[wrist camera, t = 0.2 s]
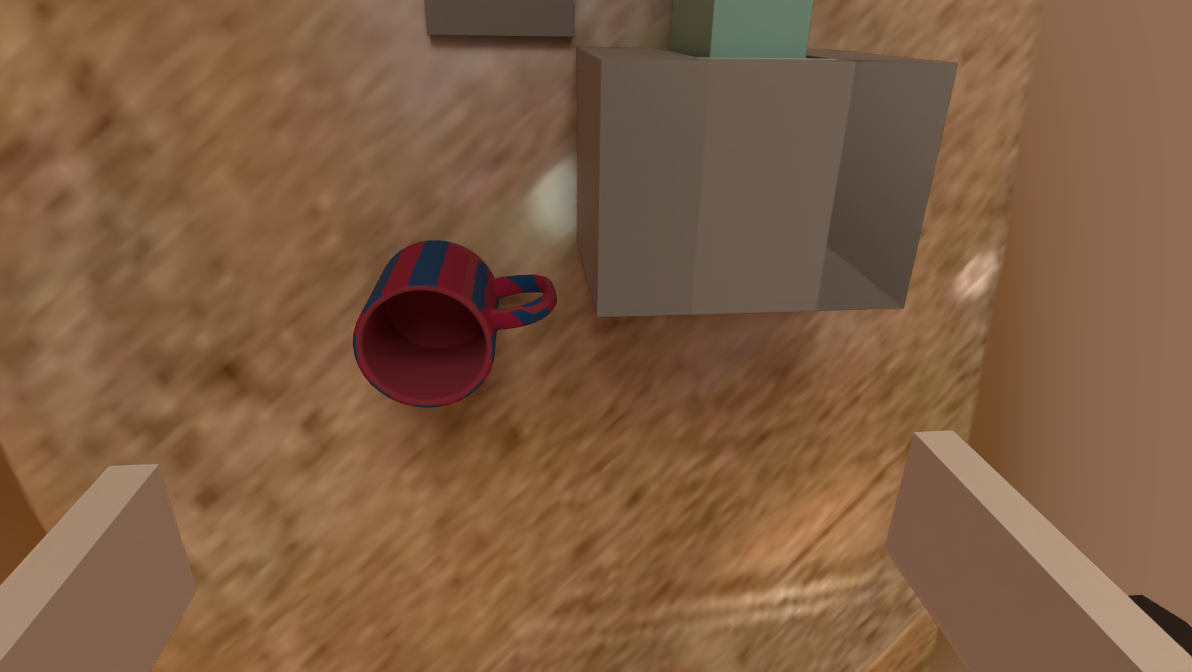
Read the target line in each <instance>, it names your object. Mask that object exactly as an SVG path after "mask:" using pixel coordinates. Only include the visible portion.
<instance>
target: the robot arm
mask: <svg viewBox="0 0 1192 672" xmlns="http://www.w3.org/2000/svg"><path fill="white" fill-rule="evenodd" d="M884 549H885V550H886V552H887V553H888V554H889V556H890V557H891V559H892V560H893V562H894V563H895V565H896V566H897V567H898V569H899V570H900V572H901V573H902V575H903V576H904V578H905V579H906V580H907V582H908V583H909V585H910V586H911V588H912V589H913V591H914V592H915V593H916V595H917V596H918V598H919V599H920V601H921V602H922V604H923V605H924V607H925V608H926V609H927V611H928V612H929V614H930V615H931V617H932V618H933V620H934V621H935V622H936V624H937V625H938V627H939V628H940V630H941V631H942V632H943V634H944V635H945V637H946V638H947V640H948V641H949V643H950V644H951V645H952V647H953V648H954V650H955V651H956V653H957V654H958V656H959V657H960V659H961V660H962V661H963V663H964V664H965V666H966V667H967V669H968V670H969V672H1192V627H1191V626H1190V625H1189V624H1188V623H1186V622H1185V621H1183V620H1182V619H1180V618H1179V617H1177V616H1175V615H1174V614H1172V613H1170V612H1169V611H1167V610H1166V609H1164V608H1163V607H1161V606H1159V605H1158V604H1156V603H1154V602H1153V601H1151V600H1150V599H1148V598H1146V597H1145V596H1143V595H1132V596H1127V595H1126V594H1125V593H1124V592H1123V591H1122V590H1120V588H1118V587H1117V586H1116V585H1115V584H1114V583H1113V582H1112V581H1111V580H1110V579H1109V578H1108V577H1107V576H1106V575H1105V574H1104V573H1102V571H1101V570H1099V569H1098V568H1097V567H1096V566H1095V565H1094V564H1093V563H1092V562H1091V561H1090V560H1089V559H1088V558H1087V557H1086V556H1084V554H1083V553H1082V552H1081V551H1079V550H1078V549H1077V548H1076V547H1075V546H1074V545H1073V544H1072V543H1071V542H1070V541H1069V540H1068V539H1067V538H1065V536H1064V535H1063V534H1061V533H1060V532H1059V531H1058V530H1057V529H1056V528H1055V527H1054V526H1053V525H1052V524H1051V523H1050V522H1049V521H1048V520H1047V519H1046V518H1045V517H1044V516H1043V515H1042V514H1040V513H1039V512H1038V511H1037V510H1036V509H1035V508H1034V507H1033V506H1032V505H1031V504H1030V503H1029V502H1028V501H1027V500H1026V499H1025V498H1024V497H1023V496H1021V495H1020V494H1019V493H1018V492H1017V491H1016V490H1015V489H1014V488H1013V487H1012V486H1011V485H1010V484H1009V483H1008V482H1007V481H1006V480H1005V479H1004V478H1003V477H1001V476H1000V475H999V474H998V473H997V472H996V471H995V470H994V469H993V468H992V467H991V466H990V465H989V464H988V463H987V462H985V460H983V459H982V458H981V457H980V456H979V455H978V454H977V453H976V452H975V451H974V450H973V449H972V448H971V447H970V446H969V445H968V444H967V443H966V442H965V441H963V440H962V439H961V438H960V437H959V436H958V435H957V434H956V433H955V432H954V431H931V432H914V434H913V438H912V442H911V446H910V450H909V453H908V457H907V461H906V465H905V469H904V473H903V477H902V481H901V485H900V489H899V493H898V497H897V501H896V505H895V508H894V512H893V516H892V520H891V524H890V528H889V532H888V536H887V540H886V544H885V548H884ZM196 590H197V589H196V586H195V583H194V579H193V576H192V573H191V569H190V566H189V563H188V559H187V556H186V553H185V549H184V546H183V543H182V540H181V536H180V533H179V530H178V526H177V523H176V520H175V516H174V513H173V510H172V506H171V503H170V500H169V496H168V493H167V490H166V486H165V483H164V480H163V476H162V473H161V470H160V467H159V464H148V465H125V466H109V467H108V468H107V469H106V470H105V471H104V472H103V473H102V474H101V476H100V477H99V478H98V479H97V480H96V481H95V482H94V483H93V484H92V485H91V487H90V488H89V489H88V490H87V491H86V492H85V493H84V494H83V495H82V496H81V498H80V499H79V500H78V501H77V502H76V503H75V504H74V505H73V506H72V507H71V508H70V510H69V511H68V512H67V513H66V514H65V515H64V516H63V517H62V518H61V519H60V521H59V522H58V523H57V524H56V525H55V526H54V527H53V528H52V529H51V530H50V532H49V533H48V534H47V535H46V536H45V537H44V538H43V539H42V541H40V543H39V544H38V545H37V546H36V547H35V548H34V549H33V550H32V551H31V553H30V554H29V555H28V556H27V557H26V558H25V559H24V560H23V561H22V562H21V563H20V565H19V566H18V567H17V568H16V569H15V570H14V571H13V572H12V573H11V574H10V575H9V577H8V578H7V579H6V580H5V581H4V582H3V583H2V584H1V585H0V672H151V670H152V668H153V667H154V665H155V663H156V661H157V660H158V658H159V656H160V654H161V652H162V651H163V649H164V647H165V645H166V644H167V642H168V640H169V638H170V636H171V635H172V633H173V631H174V629H175V627H176V626H177V624H178V622H179V620H180V619H181V617H182V615H183V613H184V611H185V610H186V608H187V606H188V604H189V603H190V601H191V599H192V597H193V595H194V594H195V592H196Z"/></svg>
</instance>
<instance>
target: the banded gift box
mask: <svg viewBox="0 0 1192 672" xmlns="http://www.w3.org/2000/svg"><path fill="white" fill-rule="evenodd" d="M812 7H813V0H673V7H672V25H671V43H670V51H671V52H675V53H680V54H684V55H689V56H693V57H707V58H806V52H807V45H808V37H809V30H810V22H811V15H812Z"/></svg>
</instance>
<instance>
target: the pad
mask: <svg viewBox="0 0 1192 672" xmlns="http://www.w3.org/2000/svg"><path fill="white" fill-rule="evenodd" d="M425 10H426V22H427V34H428V35H494V36H573V0H425Z"/></svg>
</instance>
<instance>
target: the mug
mask: <svg viewBox="0 0 1192 672" xmlns="http://www.w3.org/2000/svg"><path fill="white" fill-rule="evenodd" d="M527 292H541V293H544V294H543V295H542V296H541V297H540V298H538V299H537V300H535V301H533V302H531V303H529V304H525V305H522V306H519V307H514V308H509V309H498V301H499V298H502V297H505V296H509V295H513V294H518V293H527ZM556 302H557V298H556V291H555V288H554V286H553V284H552V282H551V281H550V279H548V278H546V277H544V276H539V275H517V276H508V277H500V278H496V279H494V277H493V275H492V272H491V271H490V269H489V268H488V266H487V265H486V264H485V263H484V262H483V261H482V260H481V259H480V257H478V256H477V255H476V254H474V253H473V252H472V251H470V250H468V249H466V248H465V247H463V246H461V245H457V244H454V243H451V242H446V241H425V242H419V243H416V244H413V245H411V246H408V247H406V248H405V249H403V250H401V251H400V252H399V253H397V254H396V255H395V256H394V257H393V258H392V259H391V260H390V261H389V263H388V264H387V265H386V267H385V269H384V271H383V273H382V274H381V276H380V278H379V280H378V282H377V284H376V286H375V288H374V290H373V292H372V293H371V295H370V297H369V299H368V301H367V303H366V305H365V307H364V309H363V310H362V312H361V314H360V316H359V318H358V320H357V322H356V326H355V330H354V334H353V348H354V355H355V358H356V361H357V364H358V366H359V368H360V370H361V371H362V373H363V375H364V376H365V378H366V379H367V380H368V381H369V382H370V384H371V385H372V386H374V387H375V388H376V389H377V390H378V391H379V392H381V393H382V394H384V395H386V396H387V397H389V398H390V399H393V400H395V401H397V402H400V403H403V404H406V405H410V406H416V407H440V406H445V405H449V404H452V403H455V402H458V401H460V400H462V399H464V398H465V397H467V396H469V395H470V394H471V393H473V392H474V391H475V390H476V389H478V387H479V386H480V385H481V384H482V383H483V382H484V380H485V379H486V377H487V375H488V374H489V372H490V369H491V367H492V364H493V360H494V353H495V341H496V332H497V331H498V330H501V329H511V328H517V327H521V326H525V325H529V324H532V323H535V322H537V321H539V320H541V319H543V318H544V317H546V316H547V315H548V314H549V313H550V312H551V311H552V310H553V309H554V307H555V306H556Z"/></svg>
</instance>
